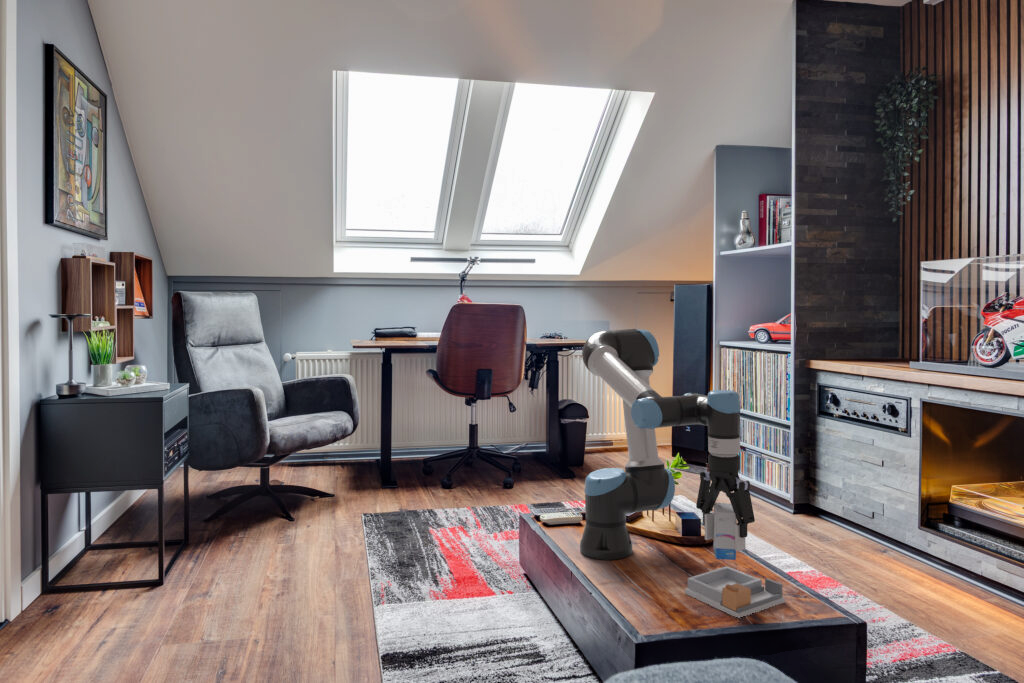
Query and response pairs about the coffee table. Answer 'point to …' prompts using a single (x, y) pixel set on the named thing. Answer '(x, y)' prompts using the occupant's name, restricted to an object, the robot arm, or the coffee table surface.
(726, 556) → the ink box
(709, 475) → the robot arm
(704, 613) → the coffee table surface
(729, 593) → the brown block
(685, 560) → the coffee table surface
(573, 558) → the coffee table surface
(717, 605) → the housing
